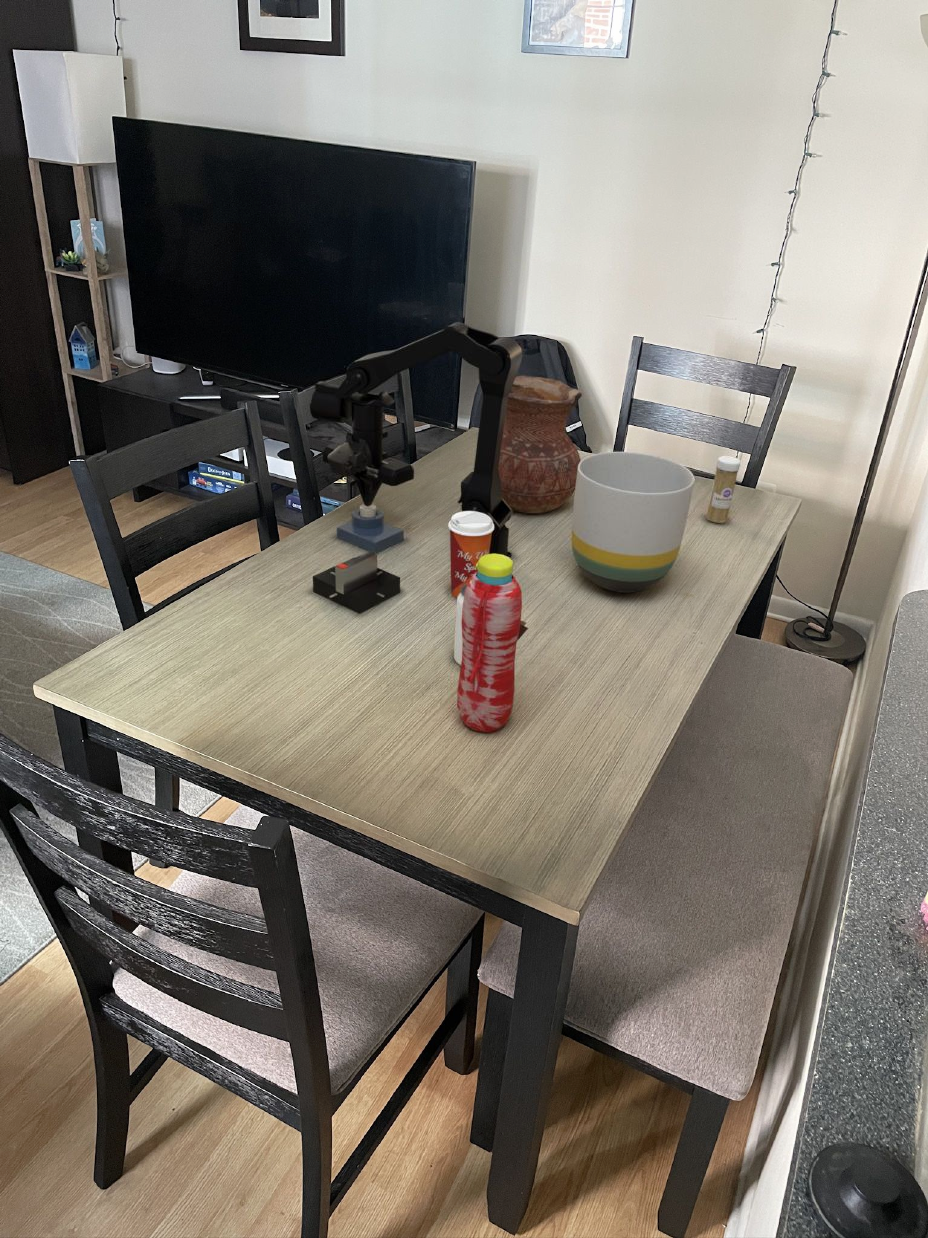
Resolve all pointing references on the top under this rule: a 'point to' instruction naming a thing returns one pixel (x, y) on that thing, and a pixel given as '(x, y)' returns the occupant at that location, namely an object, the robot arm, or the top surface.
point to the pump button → (368, 510)
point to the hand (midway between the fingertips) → (367, 505)
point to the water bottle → (489, 644)
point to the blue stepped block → (370, 532)
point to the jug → (538, 445)
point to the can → (459, 626)
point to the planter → (629, 518)
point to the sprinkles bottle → (723, 489)
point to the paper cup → (467, 545)
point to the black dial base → (358, 590)
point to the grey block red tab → (356, 572)
